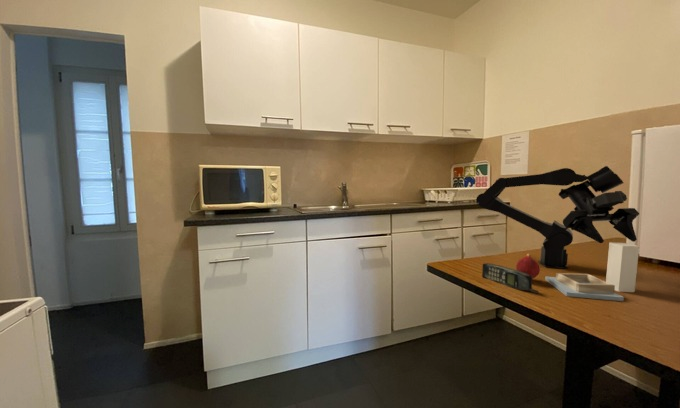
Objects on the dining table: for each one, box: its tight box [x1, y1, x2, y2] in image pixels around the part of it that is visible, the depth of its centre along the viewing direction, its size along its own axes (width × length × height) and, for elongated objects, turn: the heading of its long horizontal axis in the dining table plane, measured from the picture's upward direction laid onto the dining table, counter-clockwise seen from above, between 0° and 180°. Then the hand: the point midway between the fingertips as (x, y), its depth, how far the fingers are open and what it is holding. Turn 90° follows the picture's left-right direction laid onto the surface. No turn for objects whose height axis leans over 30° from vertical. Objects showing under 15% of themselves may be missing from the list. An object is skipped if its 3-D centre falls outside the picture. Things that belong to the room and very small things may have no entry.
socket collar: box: [555, 272, 615, 293], centre depth 76 cm, size 9×9×2 cm
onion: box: [515, 253, 541, 280], centre depth 82 cm, size 6×6×8 cm
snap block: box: [605, 242, 640, 293], centre depth 76 cm, size 4×4×12 cm
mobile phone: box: [481, 262, 539, 294], centre depth 79 cm, size 5×3×15 cm
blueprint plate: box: [545, 275, 625, 302], centre depth 76 cm, size 12×12×1 cm
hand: (618, 241), depth 78 cm, fingers open, 9 cm apart
